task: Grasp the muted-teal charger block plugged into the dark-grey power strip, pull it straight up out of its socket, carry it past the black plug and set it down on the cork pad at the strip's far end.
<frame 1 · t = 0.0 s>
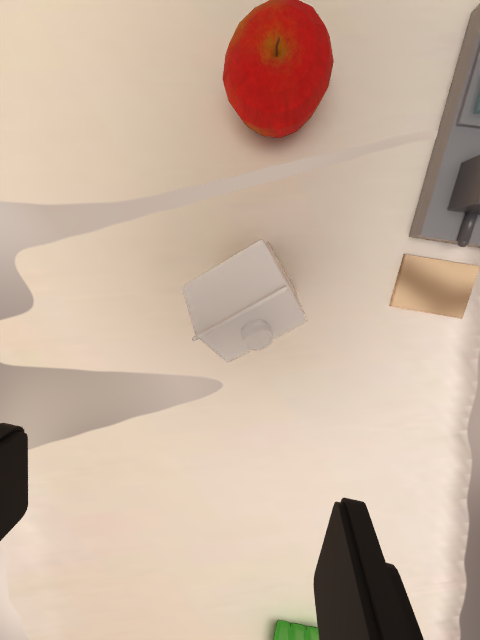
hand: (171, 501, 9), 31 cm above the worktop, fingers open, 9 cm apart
apple: (277, 107, 34), on the worktop
milk carton: (256, 282, 39), on the worktop
fruit basket: (303, 632, 51), on the worktop
cork pad: (431, 286, 37), on the worktop
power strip: (477, 138, 33), on the worktop
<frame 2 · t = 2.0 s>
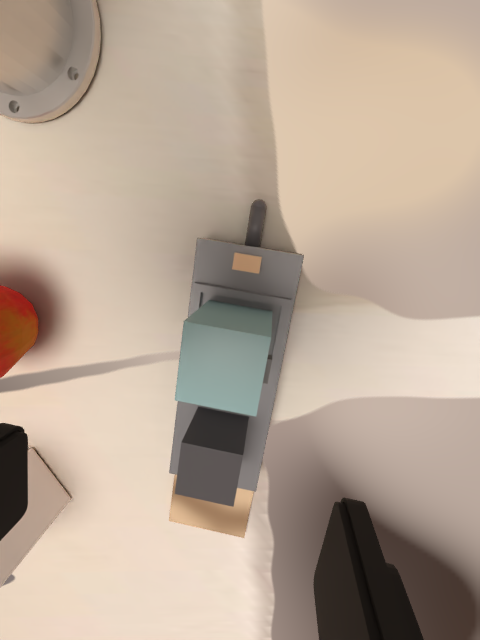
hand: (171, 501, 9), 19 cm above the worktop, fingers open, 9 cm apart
apple: (20, 316, 30), on the worktop
milk carton: (31, 482, 35), on the worktop
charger: (235, 336, 25), point 3 cm above the worktop, touching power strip
cork pad: (211, 501, 33), on the worktop
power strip: (233, 362, 29), on the worktop
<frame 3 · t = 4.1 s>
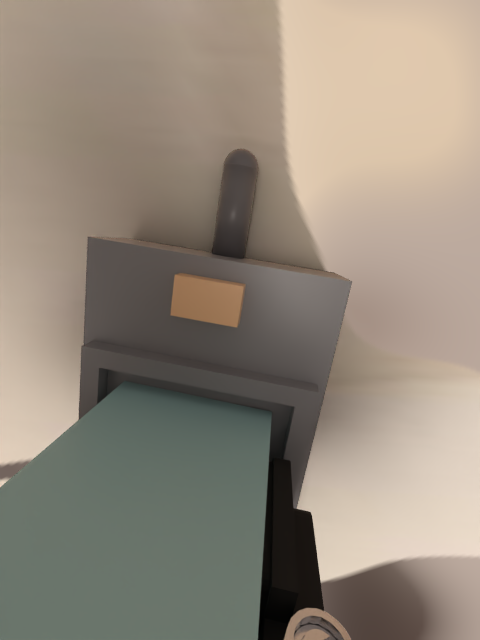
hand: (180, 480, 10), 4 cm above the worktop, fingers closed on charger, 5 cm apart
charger: (187, 460, 11), point 3 cm above the worktop, touching gripper, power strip
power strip: (196, 481, 15), on the worktop
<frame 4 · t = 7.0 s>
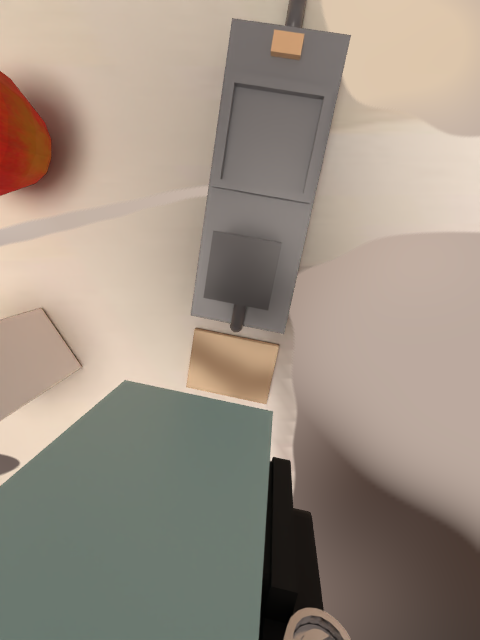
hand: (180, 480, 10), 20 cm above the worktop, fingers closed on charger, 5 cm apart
apple: (30, 151, 28), on the worktop
milk carton: (39, 351, 33), on the worktop
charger: (188, 460, 11), point 19 cm above the worktop, touching gripper
cork pad: (231, 365, 31), on the worktop
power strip: (262, 197, 27), on the worktop
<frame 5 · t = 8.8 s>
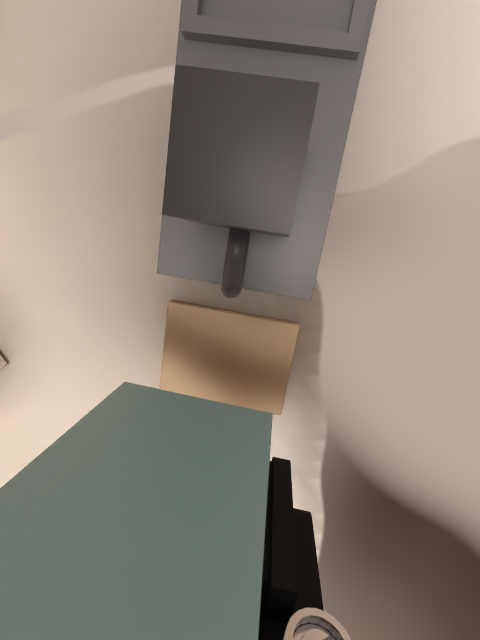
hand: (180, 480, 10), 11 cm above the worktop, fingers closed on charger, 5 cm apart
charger: (188, 462, 11), point 10 cm above the worktop, touching gripper
cork pad: (227, 356, 20), on the worktop
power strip: (270, 79, 16), on the worktop
when the fingers open (3 cm above the worktop, at t = 10.4 s): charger drops 1 cm, resting on cork pad.
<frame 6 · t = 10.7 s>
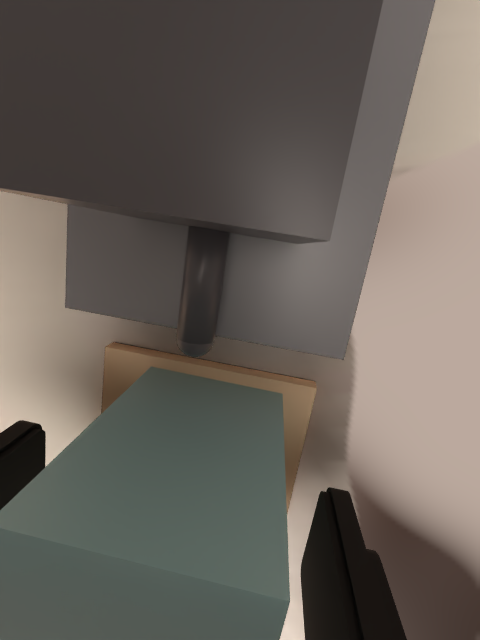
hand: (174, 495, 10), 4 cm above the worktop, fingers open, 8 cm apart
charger: (206, 438, 12), point 1 cm above the worktop, touching cork pad
cork pad: (201, 429, 13), on the worktop
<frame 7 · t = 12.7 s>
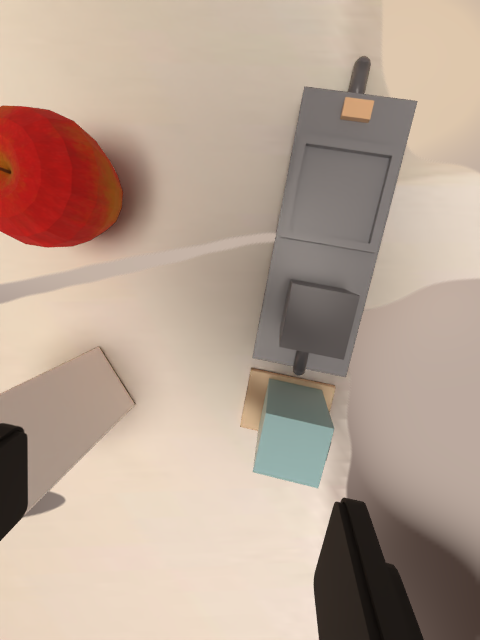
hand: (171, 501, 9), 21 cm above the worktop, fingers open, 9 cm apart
apple: (98, 200, 30), on the worktop
milk carton: (93, 388, 34), on the worktop
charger: (289, 408, 30), point 1 cm above the worktop, touching cork pad
cork pad: (286, 405, 31), on the worktop
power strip: (321, 244, 28), on the worktop
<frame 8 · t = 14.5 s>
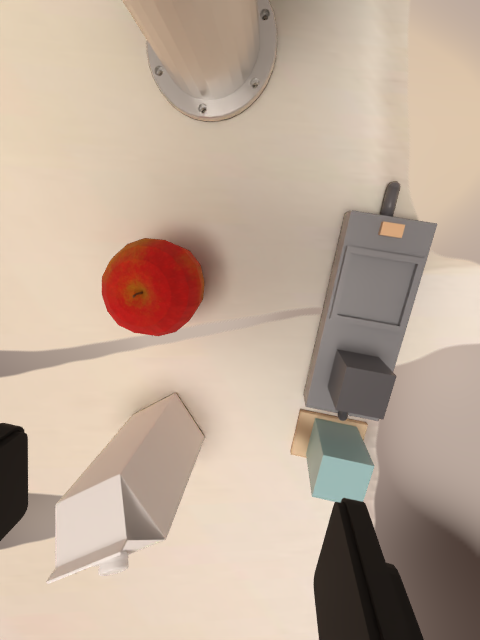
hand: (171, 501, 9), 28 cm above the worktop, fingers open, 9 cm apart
apple: (177, 280, 37), on the worktop
milk carton: (169, 424, 42), on the worktop
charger: (330, 440, 39), point 1 cm above the worktop, touching cork pad
cork pad: (327, 437, 39), on the worktop
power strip: (358, 316, 35), on the worktop
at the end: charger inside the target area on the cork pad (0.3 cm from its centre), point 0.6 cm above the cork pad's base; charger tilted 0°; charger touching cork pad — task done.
